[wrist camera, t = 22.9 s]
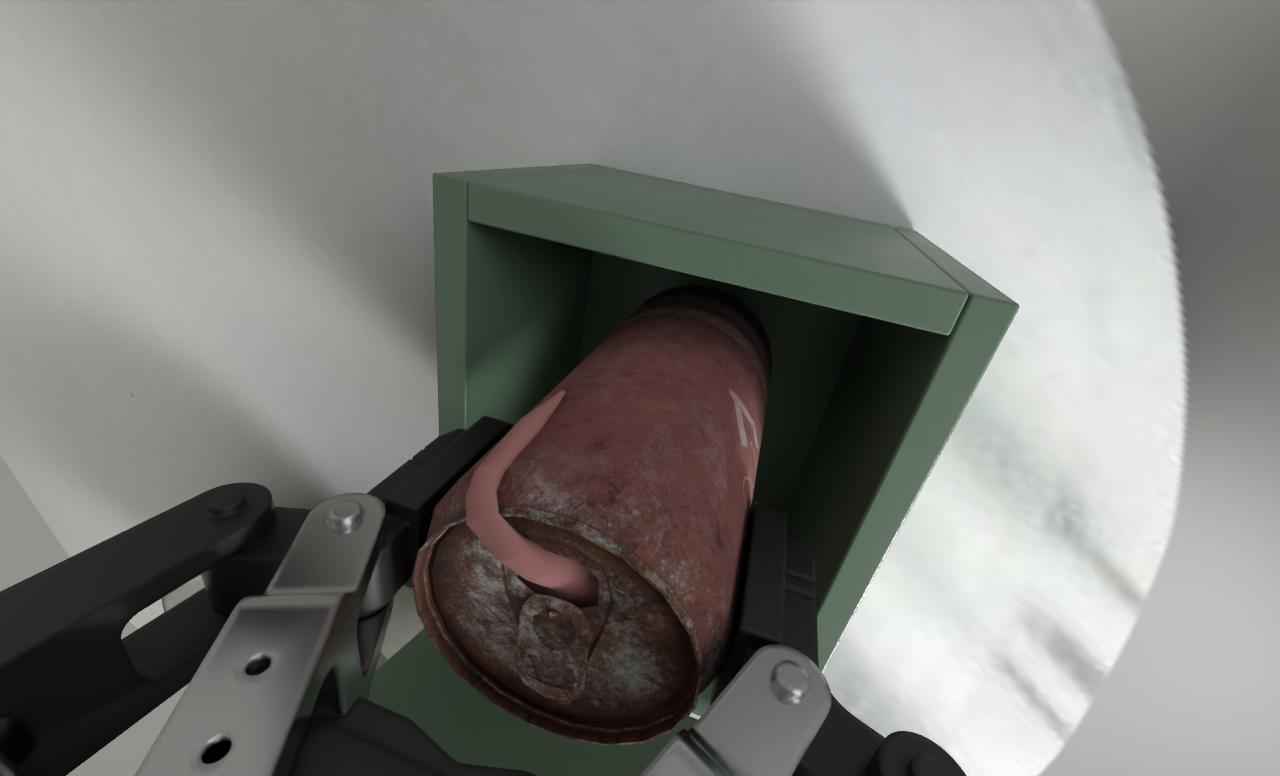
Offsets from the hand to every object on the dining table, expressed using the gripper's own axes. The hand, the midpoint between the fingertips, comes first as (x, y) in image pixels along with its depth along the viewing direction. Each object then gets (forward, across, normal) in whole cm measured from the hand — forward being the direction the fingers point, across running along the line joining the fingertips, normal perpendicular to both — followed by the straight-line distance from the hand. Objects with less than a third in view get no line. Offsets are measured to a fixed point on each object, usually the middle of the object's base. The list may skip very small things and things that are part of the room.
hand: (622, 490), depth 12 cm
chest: (+13, 0, +3) cm, 14 cm away
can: (+10, 0, 0) cm, 10 cm away
